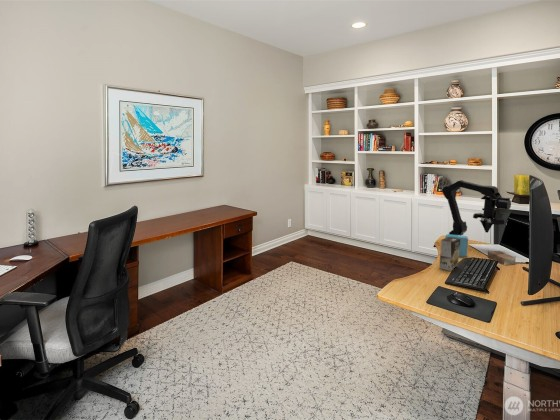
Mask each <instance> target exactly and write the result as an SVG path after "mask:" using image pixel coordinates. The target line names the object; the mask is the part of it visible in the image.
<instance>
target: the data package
mask: <svg viewBox="0 0 560 420" xmlns="http://www.w3.org/2000/svg"><path fill="white" fill-rule="evenodd" d="M447 237H453V238H458V239H460V249H459V258H466V257H467V255H468V246H469V238H468V236H466V235H451V234H449V233H448V234H446V235H445V236H444V239H445V238H447Z"/></svg>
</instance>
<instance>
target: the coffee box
mask: <svg viewBox="0 0 560 420" xmlns="http://www.w3.org/2000/svg"><path fill="white" fill-rule="evenodd" d="M440 243H441V245H440V254H439V255H440V256H439V266H438V269H441V270H444V271H449V272H451V271H453V270H455V269H456V268H455V267H456V266H457V265H459V258H460V257H459V249H460V239H458V238H453V237H447V238H445V237H444V238H443V239H441V242H440ZM454 268H455V269H454Z"/></svg>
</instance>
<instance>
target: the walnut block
mask: <svg viewBox="0 0 560 420" xmlns="http://www.w3.org/2000/svg"><path fill="white" fill-rule="evenodd" d="M487 259H490V260H491V259H493V260H492V261H494V260H497V261H498V262H497V263H498V264H501V265H503V266H508V265H509V266H510V265H516V259H517V258H516V256H513V255H510V254H509V253H506V252H503V251H500V250H489V251H488V252H487Z"/></svg>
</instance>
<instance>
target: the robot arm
mask: <svg viewBox="0 0 560 420" xmlns="http://www.w3.org/2000/svg"><path fill="white" fill-rule="evenodd" d="M460 188H462V189H467V190H471V191H474V192H478V193H480V194H481V195H483V196H482V197H481V198H480V199H481V200H484V203H483V205H484V206H483V208H482V209H481V211H483V212H477V213H476V212H475V213H474V214H473V215H472V218H473V219H476V220H477V219H478V218H479V222H480V224H481V225H482V227H483V230H484V233H489V232H490V229H491V228H492V226H493V225H496V226H497V225H505V219H503V217H504V213H501V212H498V209H501V210H507V211H510V209H511V206H512V202H511V197H503V196H502V195H501V194H500V192H499V189H498V187H497V186H496V185H494V186H493V185H481V184H477V183H473V182H470V181H465V180H463V179H462V180H457V181H455V182H454V183H452V184H450V185H447V186H444V187H443V188H442V189H441V192H442V194H443V196H444V198H445V199H446V200H447V203H448V206H449V210H450V213H451V216H452V221H453V223H452V230H451V231H449V232H448V234H451V235H462V236H464V234H465V233H467V230H468V225H467V222H466V220H465V221H464V220H462V216H461V213H460V210H459V206H458V203H457V191H458V190H459V189H460Z"/></svg>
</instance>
